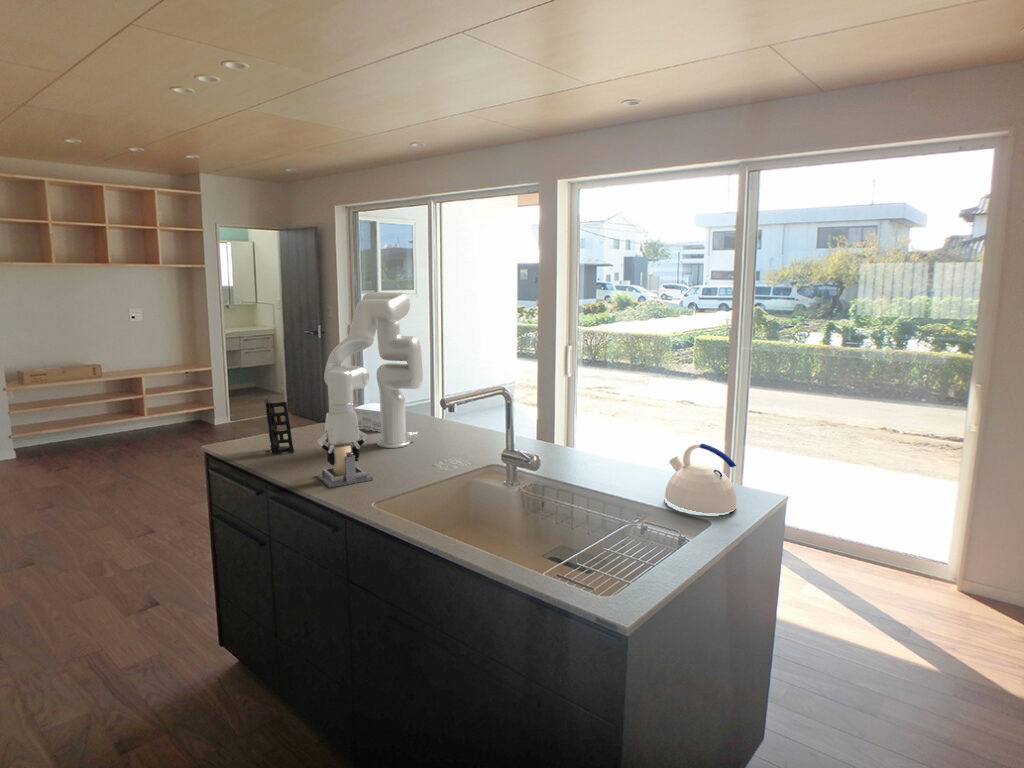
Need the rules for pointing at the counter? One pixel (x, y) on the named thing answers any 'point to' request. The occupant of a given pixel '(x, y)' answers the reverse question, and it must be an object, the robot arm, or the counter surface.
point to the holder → (273, 427)
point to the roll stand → (351, 474)
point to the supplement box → (369, 416)
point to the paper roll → (340, 458)
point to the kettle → (701, 484)
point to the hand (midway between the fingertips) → (343, 461)
